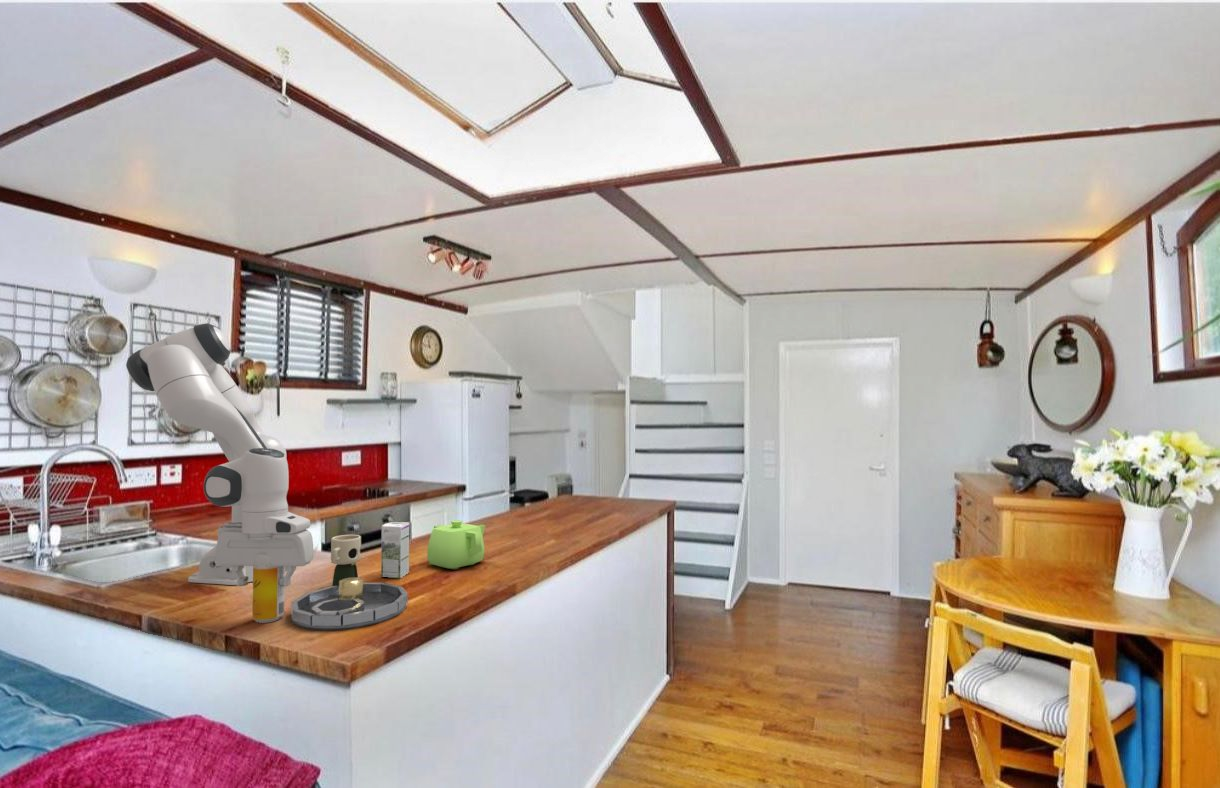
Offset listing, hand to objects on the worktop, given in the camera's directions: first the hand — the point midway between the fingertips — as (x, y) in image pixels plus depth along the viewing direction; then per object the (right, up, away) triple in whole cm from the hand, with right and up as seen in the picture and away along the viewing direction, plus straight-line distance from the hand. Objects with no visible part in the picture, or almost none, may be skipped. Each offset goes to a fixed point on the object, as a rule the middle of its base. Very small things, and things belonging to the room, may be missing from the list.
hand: (263, 585), depth 132 cm
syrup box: (+17, -9, +35) cm, 39 cm away
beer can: (+1, -8, 0) cm, 8 cm away
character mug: (+8, -8, +24) cm, 26 cm away
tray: (+17, -8, +6) cm, 19 cm away
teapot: (+31, -9, +49) cm, 59 cm away
